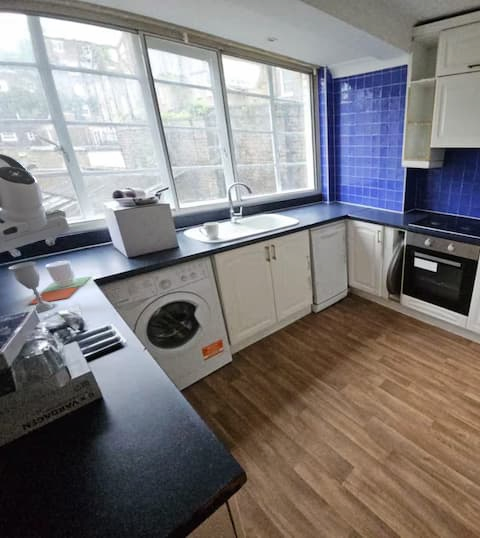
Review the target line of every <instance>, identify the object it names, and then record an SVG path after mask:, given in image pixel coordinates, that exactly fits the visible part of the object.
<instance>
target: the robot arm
mask: <svg viewBox="0 0 480 538" xmlns="http://www.w3.org/2000/svg"><path fill="white" fill-rule="evenodd" d="M43 202H44V198H43V193H42V189H41V186H40V184H39V182H38V180H37V179H36V177H35V176H34V175H33V174H32V173H31V172H30V171H29V170H28V169H27V167H26V166H25V165H24V164H23V163H22V162H20V161H19V160H17V159H15V158H14V157H11V156H9V155H6V154H2V153H0V209H1V210H0V254H1V253H4V252H9V253H10V255H11V256H13V257H14V258H17V257H20V256H22V254H21V252H20V250H18V249H16V248H20V247H24V246H26V245H29V244H33V243H36V242H39V241H42V240H45V243H46V245H47V246H49V247H50V246H53V245H55V244H56V242H55V241H56V240H57V238H58V236H59V235H62V234H65V233H68V231H69V230H70V225H69V222H68V220H67V218H66V217H67V214H66V211H65V210H63V209H59V208H57V209H53V210H48V211H46V209H45V206H44V205H43Z"/></svg>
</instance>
